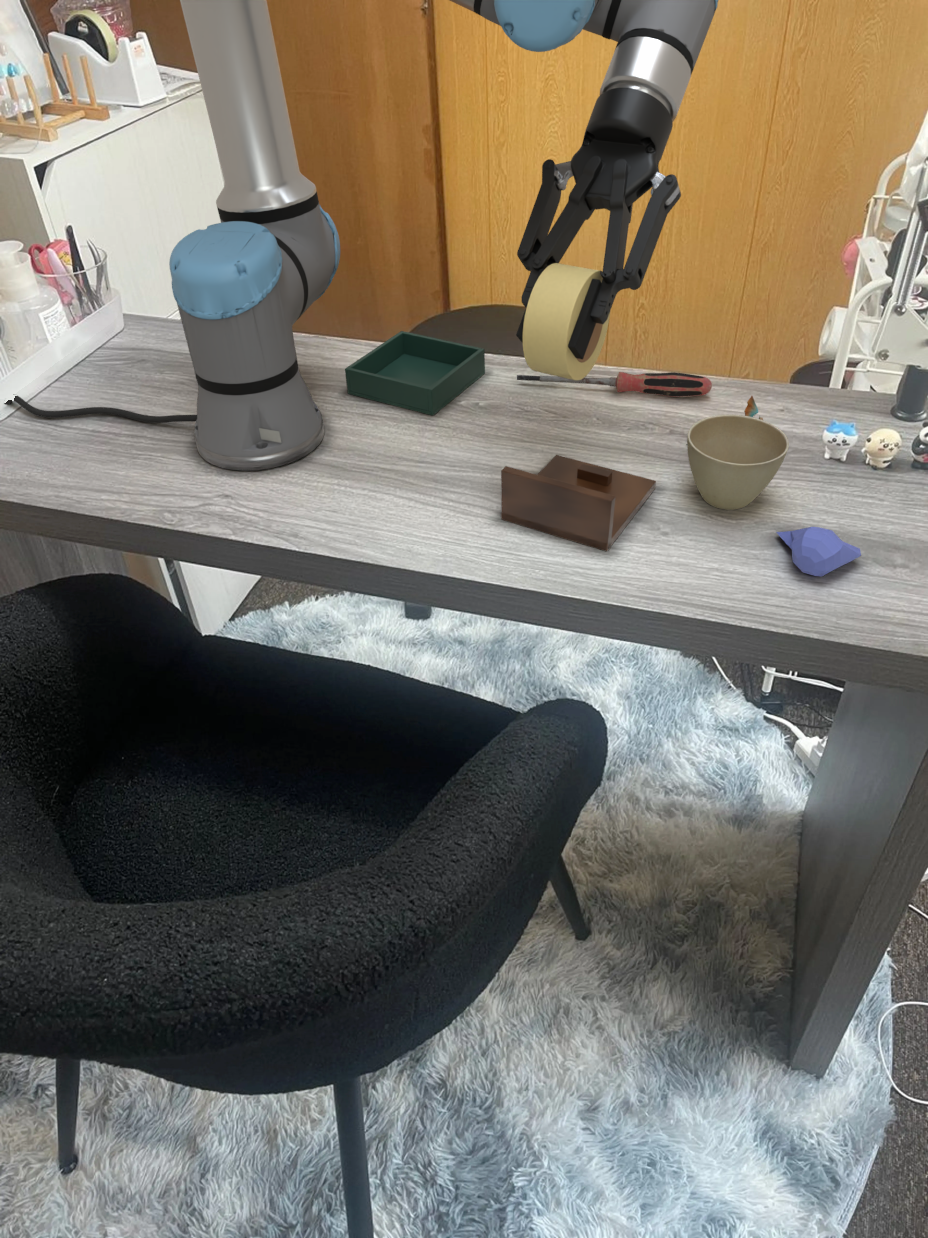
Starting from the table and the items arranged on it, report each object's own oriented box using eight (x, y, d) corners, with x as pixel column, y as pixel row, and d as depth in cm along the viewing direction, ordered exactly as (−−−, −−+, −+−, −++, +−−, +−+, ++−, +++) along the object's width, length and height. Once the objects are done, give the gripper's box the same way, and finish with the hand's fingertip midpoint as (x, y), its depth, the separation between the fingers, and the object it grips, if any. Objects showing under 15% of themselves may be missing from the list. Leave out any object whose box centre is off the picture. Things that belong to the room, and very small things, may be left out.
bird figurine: (842, 593, 81) (875, 555, 84) (818, 539, 79) (852, 503, 82) (770, 596, 88) (803, 561, 91) (746, 547, 86) (780, 513, 89)
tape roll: (521, 387, 85) (522, 283, 79) (566, 347, 92) (571, 248, 85) (564, 397, 83) (569, 292, 77) (607, 356, 90) (615, 255, 83)
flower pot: (666, 510, 93) (674, 450, 88) (694, 464, 100) (703, 406, 95) (762, 533, 89) (776, 472, 85) (784, 484, 96) (798, 425, 91)
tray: (347, 393, 116) (344, 368, 113) (403, 354, 124) (401, 330, 122) (433, 415, 110) (431, 389, 108) (485, 373, 119) (484, 348, 117)
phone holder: (501, 519, 93) (500, 470, 89) (555, 461, 101) (557, 414, 97) (607, 551, 88) (611, 500, 84) (655, 488, 96) (661, 439, 92)
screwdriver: (514, 372, 114) (518, 361, 116) (514, 393, 116) (519, 381, 118) (712, 381, 108) (713, 369, 110) (710, 403, 110) (710, 390, 112)
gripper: (733, 144, 82) (646, 382, 82) (561, 126, 89) (482, 345, 89) (724, 90, 75) (629, 349, 75) (538, 75, 82) (452, 312, 83)
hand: (549, 346), depth 82 cm, fingers closed on tape roll, 5 cm apart
